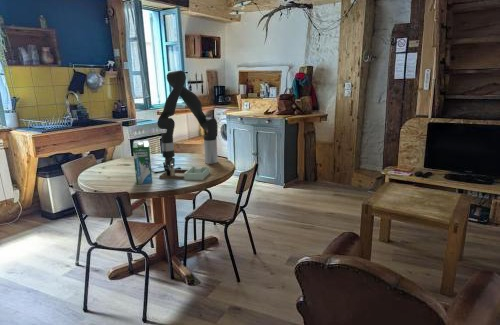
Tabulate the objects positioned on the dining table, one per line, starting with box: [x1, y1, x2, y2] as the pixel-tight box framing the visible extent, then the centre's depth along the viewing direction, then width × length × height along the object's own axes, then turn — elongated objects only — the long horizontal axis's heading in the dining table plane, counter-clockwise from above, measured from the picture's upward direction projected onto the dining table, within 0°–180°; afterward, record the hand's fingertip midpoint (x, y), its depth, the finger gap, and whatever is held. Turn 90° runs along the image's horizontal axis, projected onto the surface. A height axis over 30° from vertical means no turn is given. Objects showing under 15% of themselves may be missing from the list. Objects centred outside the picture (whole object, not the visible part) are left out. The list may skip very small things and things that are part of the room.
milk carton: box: [132, 140, 153, 186], centre depth 210 cm, size 9×9×25 cm
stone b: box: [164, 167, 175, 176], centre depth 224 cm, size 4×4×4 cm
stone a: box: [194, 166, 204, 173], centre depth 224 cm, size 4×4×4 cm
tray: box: [158, 168, 189, 180], centre depth 224 cm, size 16×16×2 cm
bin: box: [183, 166, 211, 181], centre depth 221 cm, size 16×12×5 cm
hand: (170, 175), depth 225 cm, fingers closed on stone b, tray, 4 cm apart
